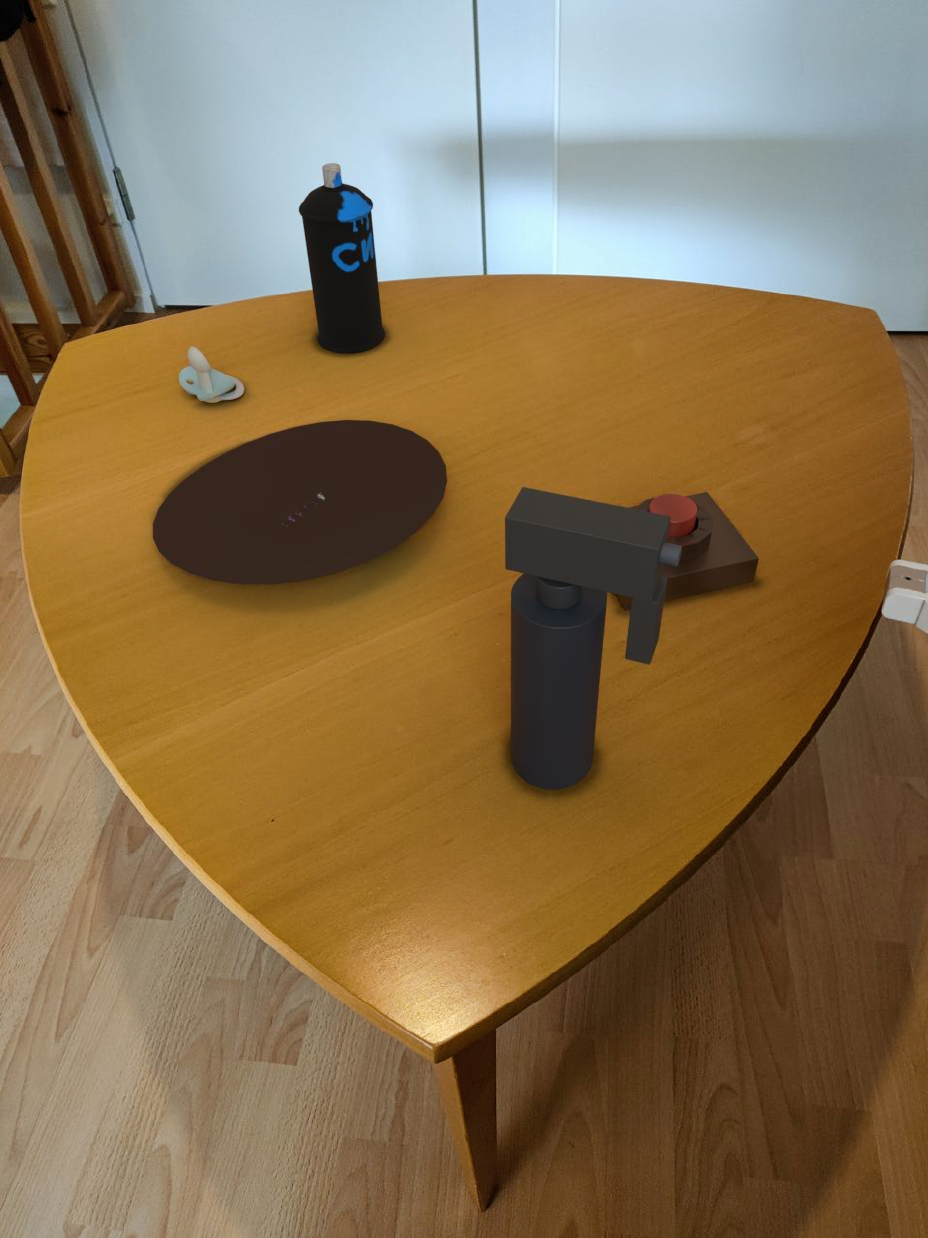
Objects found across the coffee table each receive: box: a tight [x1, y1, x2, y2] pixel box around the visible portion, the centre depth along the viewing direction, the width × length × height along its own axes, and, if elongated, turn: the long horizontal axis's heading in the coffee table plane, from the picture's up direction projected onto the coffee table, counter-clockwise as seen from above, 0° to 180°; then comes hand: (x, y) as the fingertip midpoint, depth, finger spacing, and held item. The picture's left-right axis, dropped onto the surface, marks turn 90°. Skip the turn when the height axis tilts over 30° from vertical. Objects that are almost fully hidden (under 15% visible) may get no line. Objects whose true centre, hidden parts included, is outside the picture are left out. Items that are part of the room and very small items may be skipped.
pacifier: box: [178, 345, 245, 404], centre depth 110 cm, size 7×6×6 cm
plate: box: [152, 419, 448, 585], centre depth 94 cm, size 28×28×4 cm
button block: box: [614, 491, 760, 611], centre depth 87 cm, size 12×10×4 cm
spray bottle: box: [504, 486, 682, 790], centre depth 65 cm, size 10×6×22 cm, turn 69°
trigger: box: [624, 577, 667, 666], centre depth 61 cm, size 2×2×5 cm
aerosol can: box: [298, 162, 386, 354], centre depth 114 cm, size 8×8×20 cm
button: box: [649, 493, 697, 537], centre depth 85 cm, size 4×4×2 cm
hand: (885, 587), depth 53 cm, fingers closed
